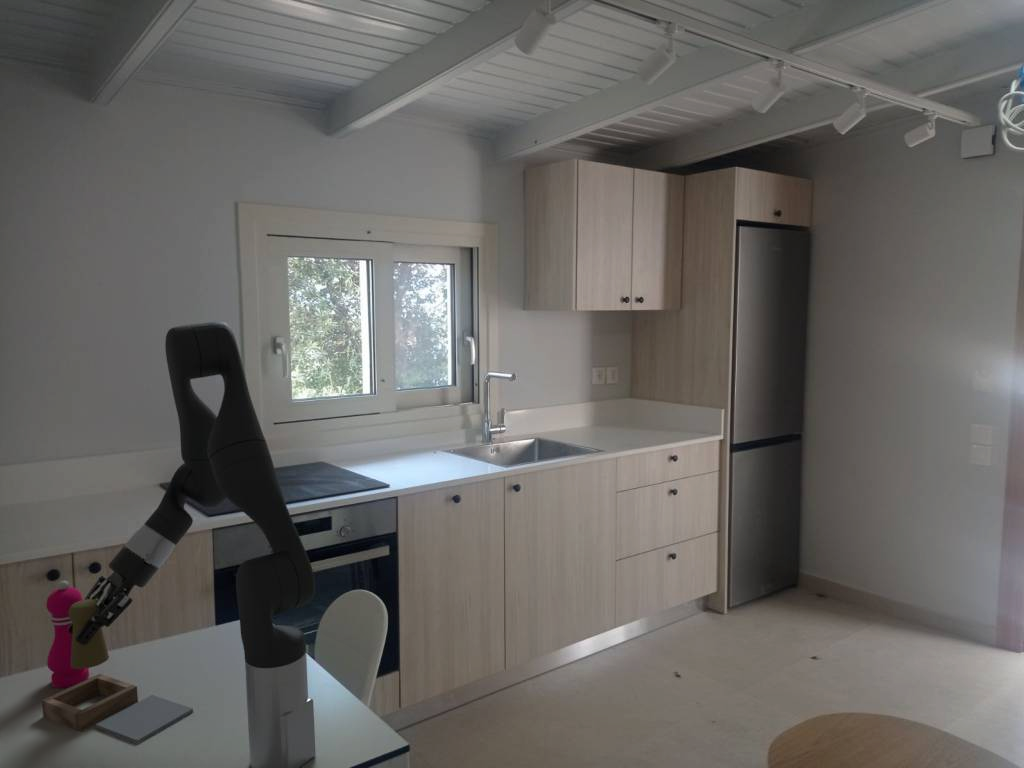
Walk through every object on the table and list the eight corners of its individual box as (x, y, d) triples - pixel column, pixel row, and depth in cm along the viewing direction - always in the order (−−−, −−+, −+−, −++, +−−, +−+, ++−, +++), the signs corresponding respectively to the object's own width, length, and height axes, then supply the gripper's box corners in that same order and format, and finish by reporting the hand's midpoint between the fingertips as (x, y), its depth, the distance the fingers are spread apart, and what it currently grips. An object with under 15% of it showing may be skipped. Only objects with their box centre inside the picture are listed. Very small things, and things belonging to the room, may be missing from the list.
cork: (91, 669, 131) (86, 609, 130) (62, 667, 132) (56, 607, 131) (116, 654, 137) (111, 596, 136) (88, 652, 138) (82, 594, 137)
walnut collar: (137, 701, 138) (136, 686, 137) (81, 731, 128) (79, 714, 128) (100, 688, 143) (99, 673, 142) (43, 716, 133) (41, 700, 133)
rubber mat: (193, 711, 134) (192, 708, 134) (137, 743, 124) (137, 740, 124) (152, 697, 139) (151, 694, 139) (95, 727, 129) (95, 724, 129)
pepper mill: (54, 674, 149) (47, 576, 147) (95, 668, 151) (88, 572, 149) (44, 692, 142) (35, 589, 140) (87, 685, 144) (79, 585, 142)
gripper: (115, 537, 143) (48, 616, 136) (138, 553, 132) (66, 640, 126) (147, 557, 147) (83, 635, 140) (171, 574, 136) (104, 660, 130)
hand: (75, 637), depth 133 cm, fingers closed on cork, 5 cm apart
